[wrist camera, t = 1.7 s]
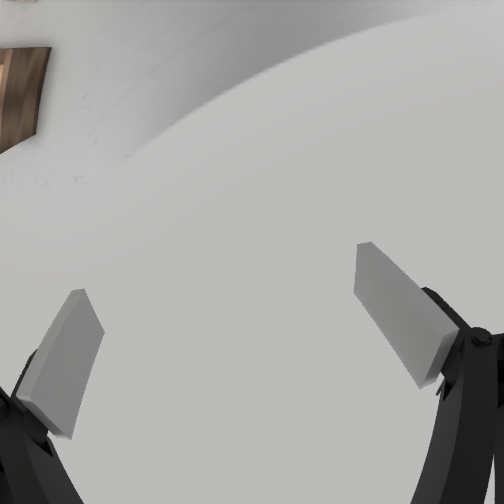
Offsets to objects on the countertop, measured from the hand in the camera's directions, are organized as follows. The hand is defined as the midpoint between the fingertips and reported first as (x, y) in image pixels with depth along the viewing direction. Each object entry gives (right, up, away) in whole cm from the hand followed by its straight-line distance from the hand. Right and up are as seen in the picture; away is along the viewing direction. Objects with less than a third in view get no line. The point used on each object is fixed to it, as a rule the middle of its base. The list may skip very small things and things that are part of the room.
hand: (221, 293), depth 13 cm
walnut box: (-33, +24, +9) cm, 42 cm away
